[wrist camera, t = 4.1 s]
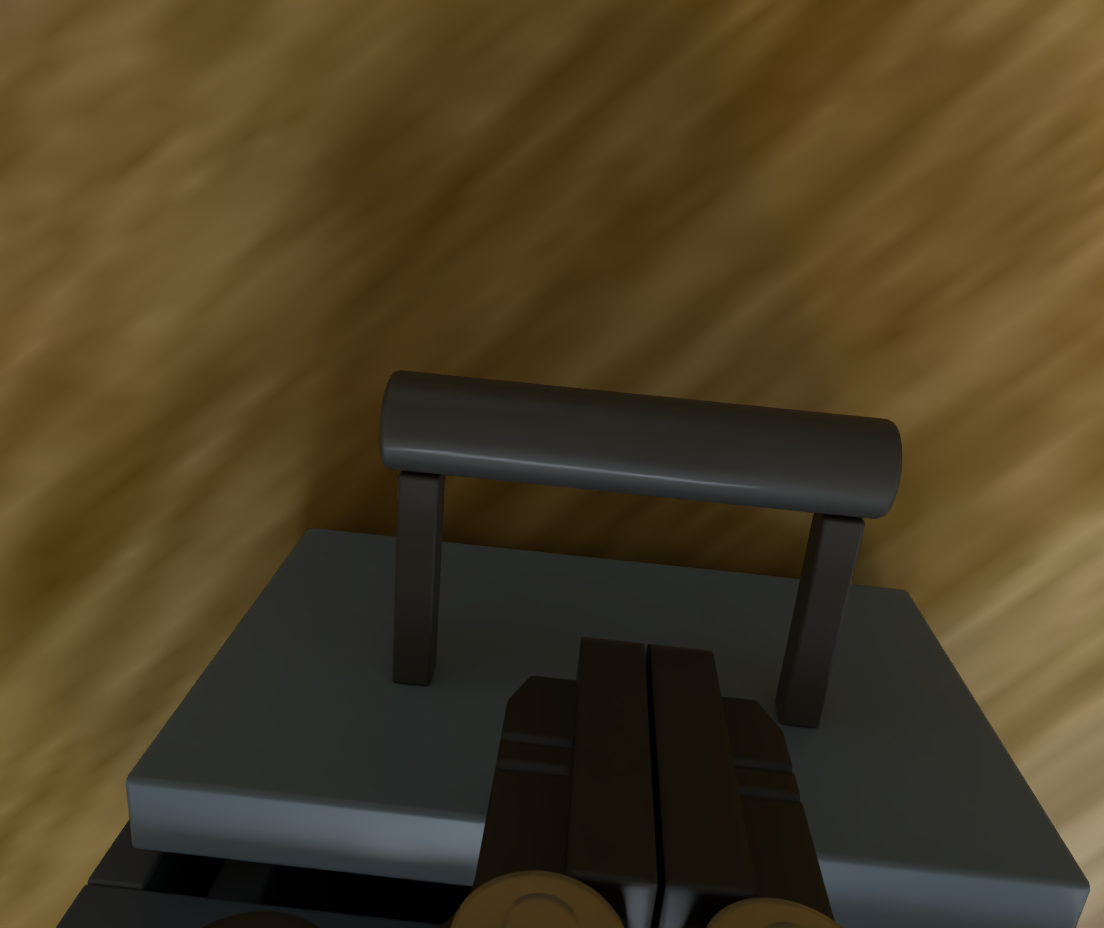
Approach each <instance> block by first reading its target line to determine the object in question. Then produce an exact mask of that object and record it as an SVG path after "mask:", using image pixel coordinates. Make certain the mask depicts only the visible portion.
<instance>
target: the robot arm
mask: <svg viewBox="0 0 1104 928" xmlns="http://www.w3.org/2000/svg"><path fill="white" fill-rule="evenodd" d="M202 928H319V927H318V926H317V925H315V924H313V923H311V922H310V921H308V920H306V919H304V918H301V917H298V916H295V915H292V914H289V913H283V912H277V911H254V912H245V913H240V914H236V915H232V916H228V917H225V918H222V919H219V920H217V921H214V922H212V923H209V924H207V925H206V926H204V927H202ZM438 928H843V927H842V926H841V925H839V924H838V923H836V922H835V920H834V917H833V913H832V910H831V906H830V902H829V899H828V895H827V891H826V888H825V884H824V880H823V877H822V873H821V869H820V866H819V862H818V858H817V855H816V851H815V847H814V844H813V840H812V836H811V833H810V829H809V825H808V822H807V818H806V814H805V810H804V807H803V803H800V792H799V788H798V785H797V781H796V777H795V774H794V773H792V763H791V759H790V755H789V752H788V748H787V744H786V741H785V737H784V733H783V731H782V730H781V729H780V727H779V726H778V725H777V724H776V723H775V722H774V720H773V719H772V718H771V717H770V716H769V715H768V713H767V712H766V711H765V710H764V709H763V707H762V706H761V705H760V704H759V703H758V702H757V700H750V699H741V698H732V697H723V696H721V692H720V687H719V681H718V676H717V670H716V665H715V659H714V655H713V652H712V651H710V650H701V649H692V648H683V647H674V646H665V645H656V644H648V645H647V648H646V653H645V649H644V644H643V643H636V642H627V641H618V640H609V639H600V638H591V637H581V640H580V648H579V656H578V664H577V673H576V680H568V679H559V678H550V677H541V676H532V675H531V676H530V677H529V678H528V679H527V680H526V681H525V682H524V683H523V684H522V685H521V687H520V688H519V689H518V690H517V691H516V692H515V693H514V694H513V695H512V696H511V697H510V699H509V700H508V701H507V705H506V711H505V716H504V722H503V727H502V733H501V740H500V744H499V749H498V755H497V760H496V768H495V771H494V777H493V782H492V788H491V793H490V799H489V804H488V810H487V815H486V821H485V826H484V832H483V837H482V843H481V848H480V854H479V859H478V864H477V870H476V875H475V879H474V882H473V886H472V889H471V891H470V893H469V895H468V897H467V898H466V899H465V900H464V902H463V903H462V905H461V906H460V908H459V909H458V911H457V912H456V913H455V914H454V915H453V916H452V917H451V918H450V919H449V920H448V921H446V922H445V923H444V924H442V925H441V926H440V927H438Z"/></svg>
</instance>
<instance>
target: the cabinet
mask: <svg viewBox="0 0 1104 928" xmlns="http://www.w3.org/2000/svg"><path fill="white" fill-rule="evenodd" d="M225 860H226V859H223V858H215V857H206V856H197V855H188V854H179V853H170V852H162V851H153V850H144V849H137V848H135V847H134V846H133V845H132V839H131V828H130V819H129V820H128V822H127V823H126V825H125V826H124V828H123V829H122V831H121V832H120V834H119V835H118V837H117V838H116V839H115V841H114V842H113V844H112V845H111V847H110V848H109V850H108V851H107V853H106V854H105V856H104V857H103V859H102V860H101V862H100V863H99V864H98V866H97V867H96V869H95V870H94V872H93V873H92V875H91V876H90V878H89V880H88V885H85V886H84V887H83V888H82V890H81V891H80V893H79V894H78V896H77V897H76V899H75V900H74V902H73V903H72V905H71V906H70V907H69V909H68V910H67V912H66V913H65V915H64V916H63V918H62V919H61V921H60V922H59V924H58V925H57V927H56V928H202V927H204V926H206V925H207V924H209V923H212V922H214V921H217V920H219V919H222V918H225V917H228V916H232V915H236V914H240V913H245V912H254V911H277V912H283V913H289V914H292V915H295V916H298V917H301V918H304V919H306V920H308V921H310V922H311V923H313V924H315V925H317V926H318V927H319V928H438V927H440V926H441V925H442V924H434V923H425V922H416V921H407V920H399V919H390V918H381V917H372V916H364V915H355V914H346V913H337V912H329V911H320V910H311V909H302V908H294V907H285V906H276V905H267V904H258V903H250V902H241V901H232V900H223V899H215V898H206V897H207V895H208V893H209V891H210V889H211V887H212V885H213V883H214V881H215V879H216V877H217V875H218V873H219V871H220V869H221V867H222V865H223V864H224V862H225Z"/></svg>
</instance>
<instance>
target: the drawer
mask: <svg viewBox="0 0 1104 928" xmlns="http://www.w3.org/2000/svg"><path fill="white" fill-rule="evenodd" d="M379 447H380V454H381V458H382V462H383V464H384V466H385V467H387V468H389V469H394V470H402V471H401V472H400V474H399V476H398V498H397V533H396V537H393V536H383V535H374V534H364V533H355V532H345V531H336V530H326V529H316V528H309V529H307V530H306V532H305V533H304V535H303V536H302V537H301V539H300V540H299V541H298V543H297V544H296V546H295V547H294V548H293V550H292V551H291V552H290V554H289V555H288V557H287V558H286V559H285V561H284V562H283V563H282V565H281V566H280V568H279V569H278V570H277V572H276V573H275V574H274V576H273V577H272V579H271V580H270V581H269V583H268V584H267V585H266V587H265V588H264V590H263V591H262V592H261V594H260V595H259V596H258V598H257V599H256V601H255V602H254V603H253V605H252V606H251V607H250V609H249V610H248V612H247V613H246V614H245V616H244V617H243V618H242V620H241V621H240V622H239V624H238V625H237V627H236V628H235V629H234V631H233V632H232V633H231V635H230V636H229V638H228V639H227V640H226V642H225V643H224V644H223V646H222V647H221V649H220V650H219V651H218V653H217V654H216V655H215V657H214V658H213V660H212V661H211V662H210V664H209V665H208V666H207V668H206V669H205V671H204V672H203V673H202V675H201V676H200V677H199V679H198V680H197V682H196V683H195V684H194V686H193V687H192V688H191V690H190V691H189V693H188V694H187V695H186V697H185V698H184V699H183V701H182V702H181V704H180V705H179V706H178V708H177V709H176V710H175V712H174V713H173V715H172V716H171V717H170V719H169V720H168V721H167V723H166V724H165V726H164V727H163V728H162V730H161V731H160V732H159V734H158V735H157V737H156V738H155V739H154V741H153V742H152V743H151V745H150V746H149V748H148V749H147V750H146V752H145V753H144V754H143V756H142V757H141V759H140V760H139V761H138V763H137V764H136V765H135V767H134V768H133V770H132V771H131V772H130V774H129V775H128V777H127V780H126V787H127V798H128V808H129V818H130V828H131V839H132V845H133V846H134V847H135V848H137V849H144V850H153V851H162V852H170V853H179V854H188V855H197V856H206V857H215V858H223V859H226V860H225V862H224V864H223V865H222V867H221V869H220V871H219V873H218V875H217V877H216V879H215V881H214V883H213V885H212V887H211V889H210V891H209V893H208V895H207V897H206V898H215V899H223V900H232V901H241V902H250V903H258V904H267V905H276V906H285V907H294V908H302V909H311V910H320V911H329V912H337V913H346V914H355V915H364V916H372V917H381V918H390V919H399V920H407V921H416V922H425V923H434V924H444V923H445V922H446V921H448V920H449V919H450V918H451V917H452V916H453V915H454V914H455V913H456V912H457V911H458V909H459V908H460V906H461V905H462V903H463V902H464V900H465V899H466V898H467V897H468V895H469V893H470V891H471V889H472V886H473V882H474V879H475V875H476V870H477V864H478V859H479V854H480V848H481V843H482V837H483V832H484V826H485V821H486V815H487V810H488V804H489V799H490V793H491V788H492V782H493V777H494V771H495V768H496V760H497V755H498V749H499V744H500V740H501V733H502V727H503V722H504V716H505V711H506V705H507V701H508V700H509V699H510V697H511V696H512V695H513V694H514V693H515V692H516V691H517V690H518V689H519V688H520V687H521V685H522V684H523V683H524V682H525V681H526V680H527V679H528V678H529V677H530V676H531V675H532V676H541V677H550V678H559V679H568V680H576V673H577V664H578V656H579V648H580V640H581V637H591V638H600V639H609V640H618V641H627V642H636V643H643V644H644V649H645V653H646V648H647V645H648V644H656V645H665V646H674V647H683V648H692V649H701V650H710V651H712V652H713V655H714V659H715V665H716V670H717V676H718V681H719V687H720V692H721V696H723V697H732V698H741V699H750V700H757V702H758V703H759V704H760V705H761V706H762V707H763V709H764V710H765V711H766V712H767V713H768V715H769V716H770V717H771V718H772V719H773V720H774V722H775V723H776V724H777V725H778V726H779V727H780V729H781V730H782V731H783V733H784V737H785V741H786V744H787V748H788V752H789V755H790V759H791V763H792V773H794V774H795V777H796V781H797V785H798V788H799V792H800V803H803V807H804V810H805V814H806V818H807V822H808V825H809V829H810V833H811V836H812V840H813V844H814V847H815V851H816V855H817V858H818V862H819V866H820V869H821V873H822V877H823V880H824V884H825V888H826V891H827V895H828V899H829V902H830V906H831V910H832V913H833V917H834V920H835V922H836V923H838V924H839V925H841V926H842V927H843V928H1076V925H1077V923H1078V920H1079V918H1080V915H1081V913H1082V910H1083V907H1084V905H1085V902H1086V900H1087V897H1088V894H1089V892H1090V885H1089V882H1088V880H1087V878H1086V877H1085V875H1084V874H1083V872H1082V870H1081V869H1080V867H1079V866H1078V864H1077V862H1076V861H1075V859H1074V858H1073V856H1072V854H1071V853H1070V851H1069V850H1068V848H1067V846H1066V845H1065V843H1064V842H1063V840H1062V838H1061V837H1060V835H1059V834H1058V832H1057V830H1056V829H1055V827H1054V826H1053V824H1052V822H1051V821H1050V819H1049V818H1048V816H1047V814H1046V813H1045V811H1044V810H1043V808H1042V806H1041V805H1040V803H1039V802H1038V800H1037V798H1036V797H1035V795H1034V793H1033V792H1032V790H1031V789H1030V787H1029V785H1028V784H1027V782H1026V781H1025V779H1024V777H1023V776H1022V774H1021V773H1020V771H1019V769H1018V768H1017V766H1016V765H1015V763H1014V761H1013V760H1012V758H1011V757H1010V755H1009V753H1008V752H1007V750H1006V749H1005V747H1004V745H1003V744H1002V742H1001V741H1000V739H999V737H998V736H997V734H996V733H995V731H994V729H993V728H992V726H991V725H990V723H989V721H988V720H987V718H986V717H985V715H984V713H983V712H982V710H981V709H980V707H979V705H978V704H977V702H976V701H975V699H974V697H973V696H972V694H971V693H970V691H969V689H968V688H967V686H966V685H965V683H964V681H963V680H962V678H961V677H960V675H959V673H958V672H957V670H956V669H955V667H954V665H953V664H952V662H951V661H950V659H949V657H948V656H947V654H946V653H945V651H944V649H943V648H942V646H941V644H940V643H939V641H938V640H937V638H936V636H935V635H934V633H933V632H932V630H931V628H930V627H929V625H928V624H927V622H926V620H925V619H924V617H923V616H922V614H921V612H920V611H919V609H918V608H917V606H916V604H915V603H914V601H913V600H912V598H911V596H910V595H909V593H908V592H907V591H905V590H901V589H891V588H881V587H872V586H862V585H853V584H851V583H852V579H853V574H854V570H855V566H856V561H857V557H858V553H859V548H860V544H861V540H862V535H863V531H864V526H865V523H864V521H863V519H862V518H871V519H878V518H881V517H883V516H885V515H886V514H887V513H888V512H889V510H890V509H891V507H892V505H893V503H894V500H895V497H896V494H897V491H898V488H899V483H900V478H901V471H902V444H901V438H900V433H899V430H898V428H897V426H896V425H895V424H894V423H893V422H892V421H890V420H888V419H881V418H871V417H861V416H851V415H841V414H831V413H821V412H811V411H801V410H791V409H781V408H771V407H762V406H752V405H742V404H732V403H722V402H712V401H702V400H692V399H682V398H672V397H662V396H652V395H642V394H632V393H622V392H612V391H602V390H592V389H582V388H572V387H562V386H552V385H542V384H532V383H522V382H512V381H502V380H492V379H482V378H472V377H462V376H452V375H442V374H432V373H422V372H412V371H402V370H399V371H396V372H393V373H392V375H391V376H390V378H389V380H388V383H387V385H386V388H385V392H384V396H383V401H382V406H381V414H380V425H379ZM445 475H452V476H462V477H472V478H481V479H491V480H501V481H510V482H520V483H530V484H540V485H549V486H559V487H569V488H579V489H588V490H598V491H608V492H618V493H627V494H637V495H647V496H657V497H666V498H676V499H686V500H695V501H705V502H715V503H725V504H734V505H744V506H754V507H764V508H773V509H783V510H793V511H803V512H812V513H814V514H813V519H812V524H811V529H810V534H809V539H808V543H807V548H806V553H805V558H804V563H803V568H802V573H801V577H800V579H795V578H786V577H776V576H767V575H757V574H747V573H738V572H728V571H719V570H709V569H699V568H690V567H680V566H671V565H661V564H652V563H642V562H632V561H623V560H613V559H604V558H594V557H585V556H575V555H565V554H556V553H546V552H537V551H527V550H517V549H508V548H498V547H489V546H479V545H470V544H460V543H450V542H442V532H443V511H444V491H445Z"/></svg>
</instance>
